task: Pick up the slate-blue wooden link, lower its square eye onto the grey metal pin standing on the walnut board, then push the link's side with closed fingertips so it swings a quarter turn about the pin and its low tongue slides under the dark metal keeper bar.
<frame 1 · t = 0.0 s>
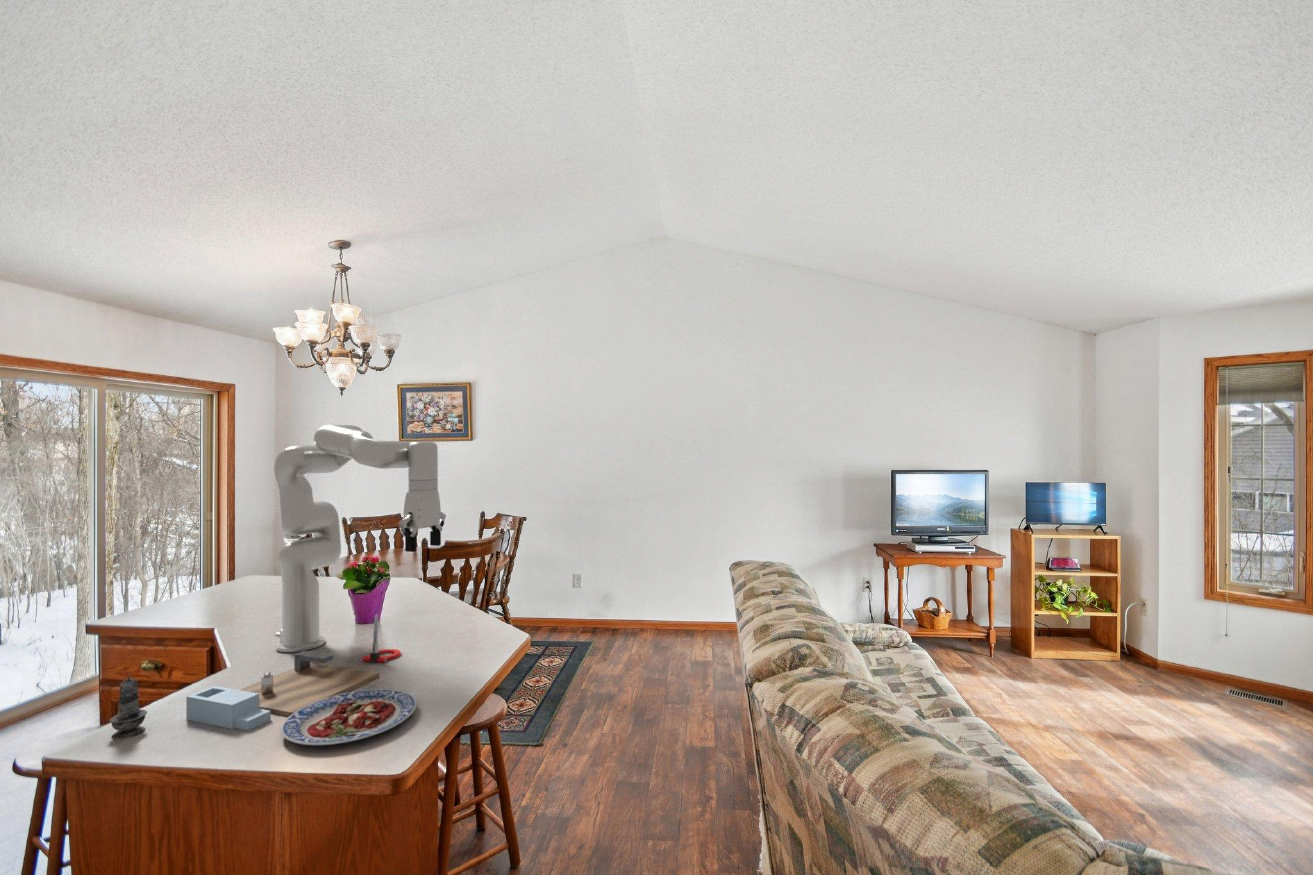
hand: (423, 548, 163), 31 cm above the table, fingers open, 9 cm apart
tow hook: (383, 658, 167), on the table
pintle: (267, 697, 140), resting on board
grey stone sculpture: (128, 734, 123), on the table
board: (302, 689, 145), on the table
link: (254, 724, 126), on the table
keeper: (302, 672, 155), resting on board
ceramic plate: (351, 724, 127), on the table
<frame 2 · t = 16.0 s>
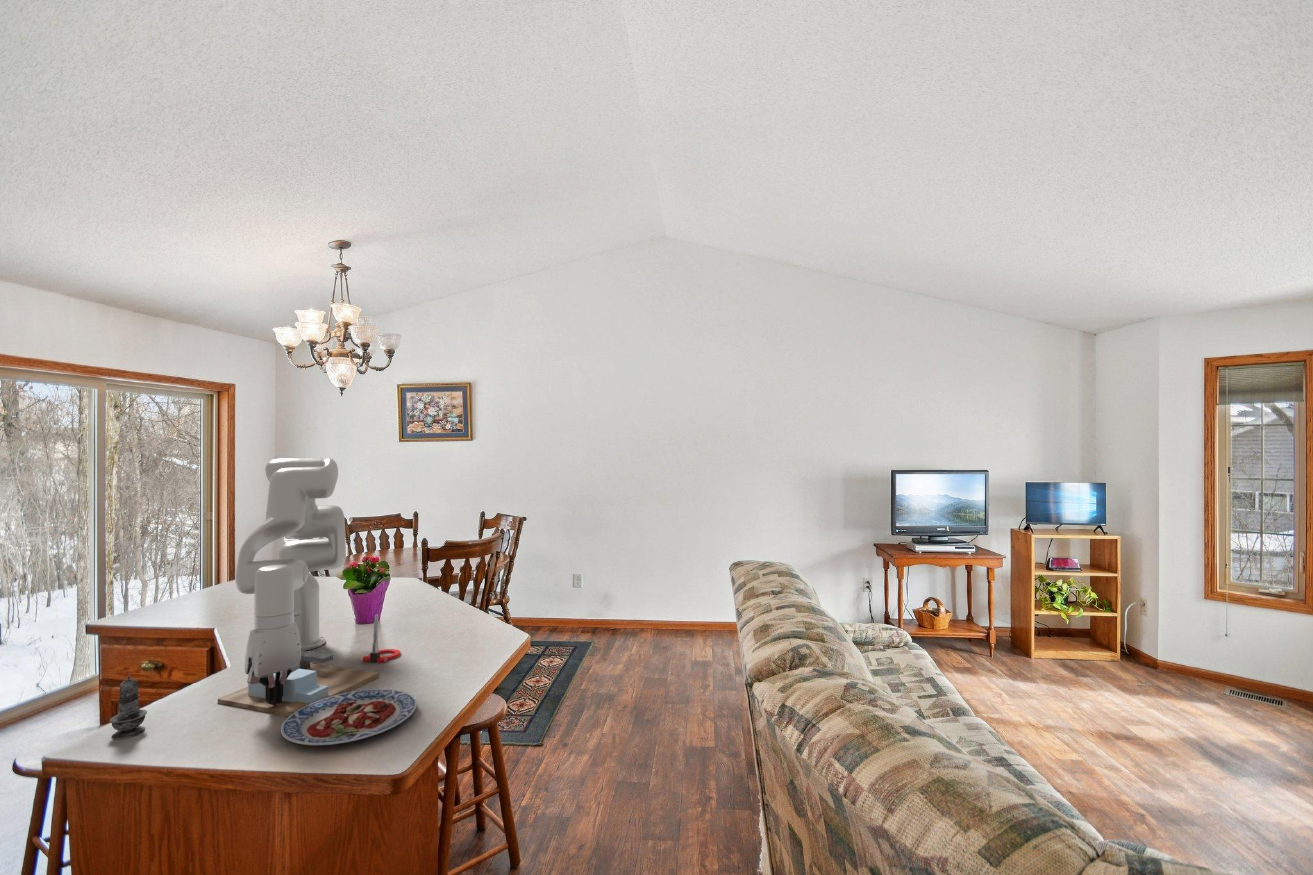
hand: (274, 702, 133), 2 cm above the table, fingers closed
link: (314, 698, 137), point 1 cm above the table, touching board
everything else where it was.
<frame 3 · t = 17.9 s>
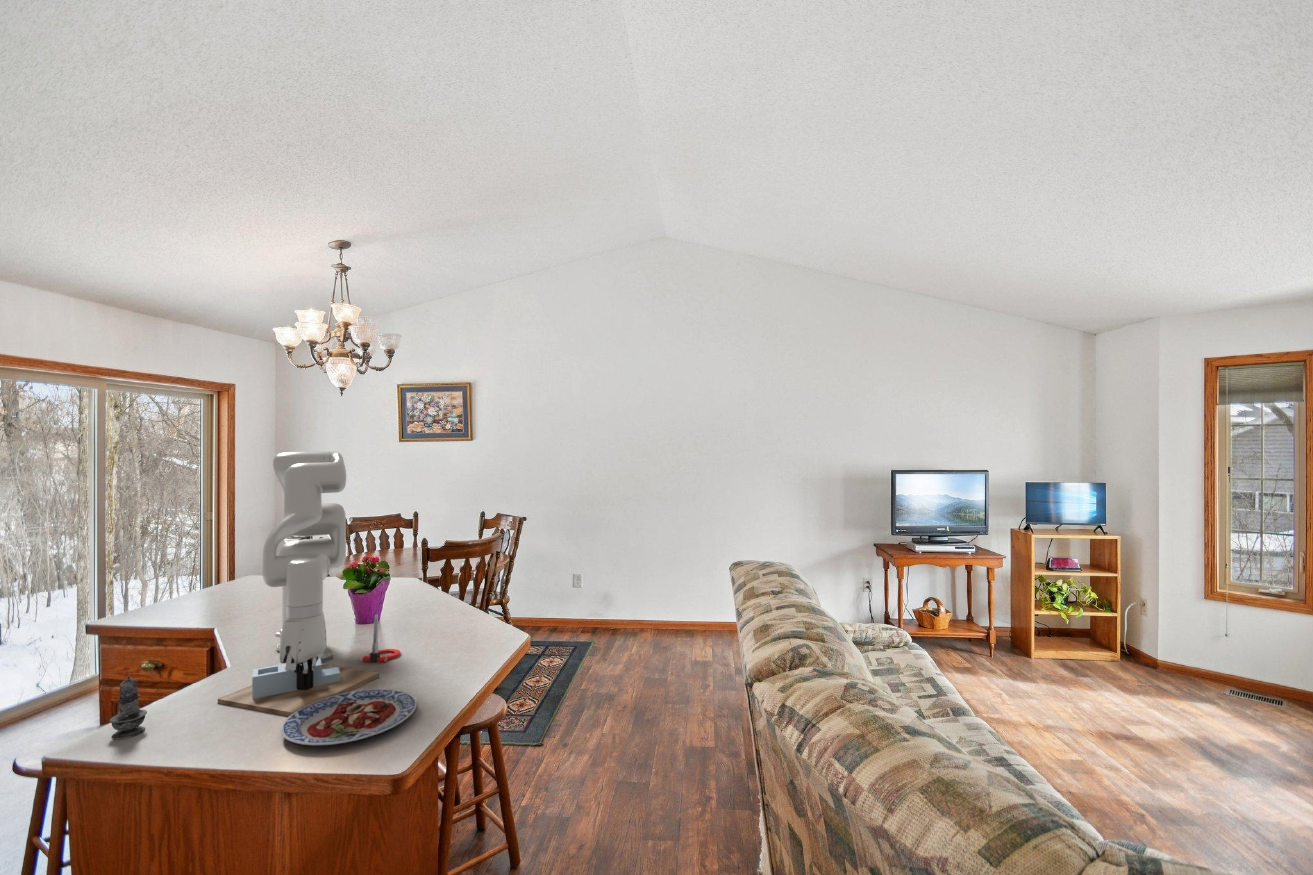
hand: (305, 688, 140), 2 cm above the table, fingers closed
link: (332, 679, 148), point 1 cm above the table, touching board, gripper, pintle
everything else where it was.
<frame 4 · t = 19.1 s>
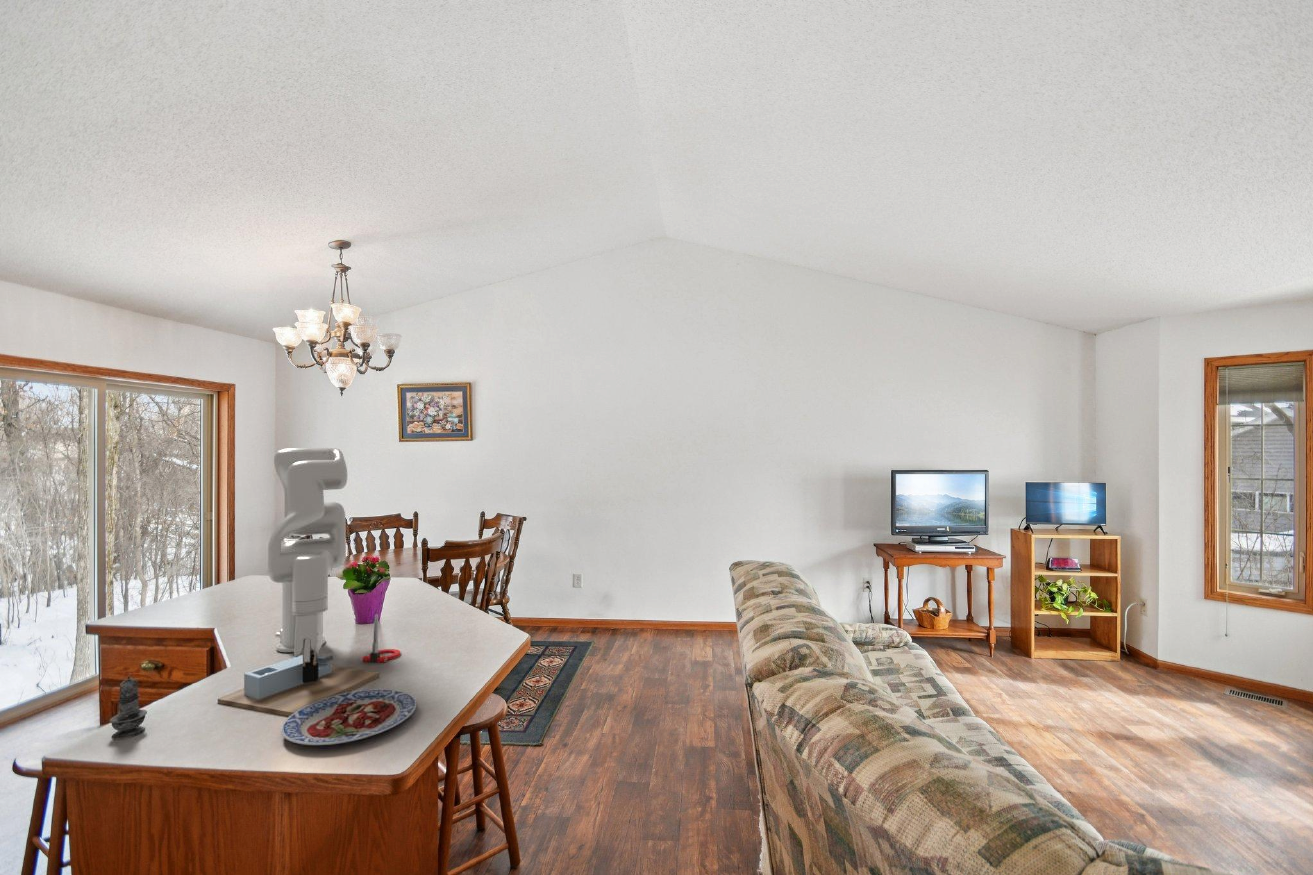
hand: (310, 680, 145), 2 cm above the table, fingers closed
link: (319, 672, 153), point 1 cm above the table, touching gripper, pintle
everything else where it was.
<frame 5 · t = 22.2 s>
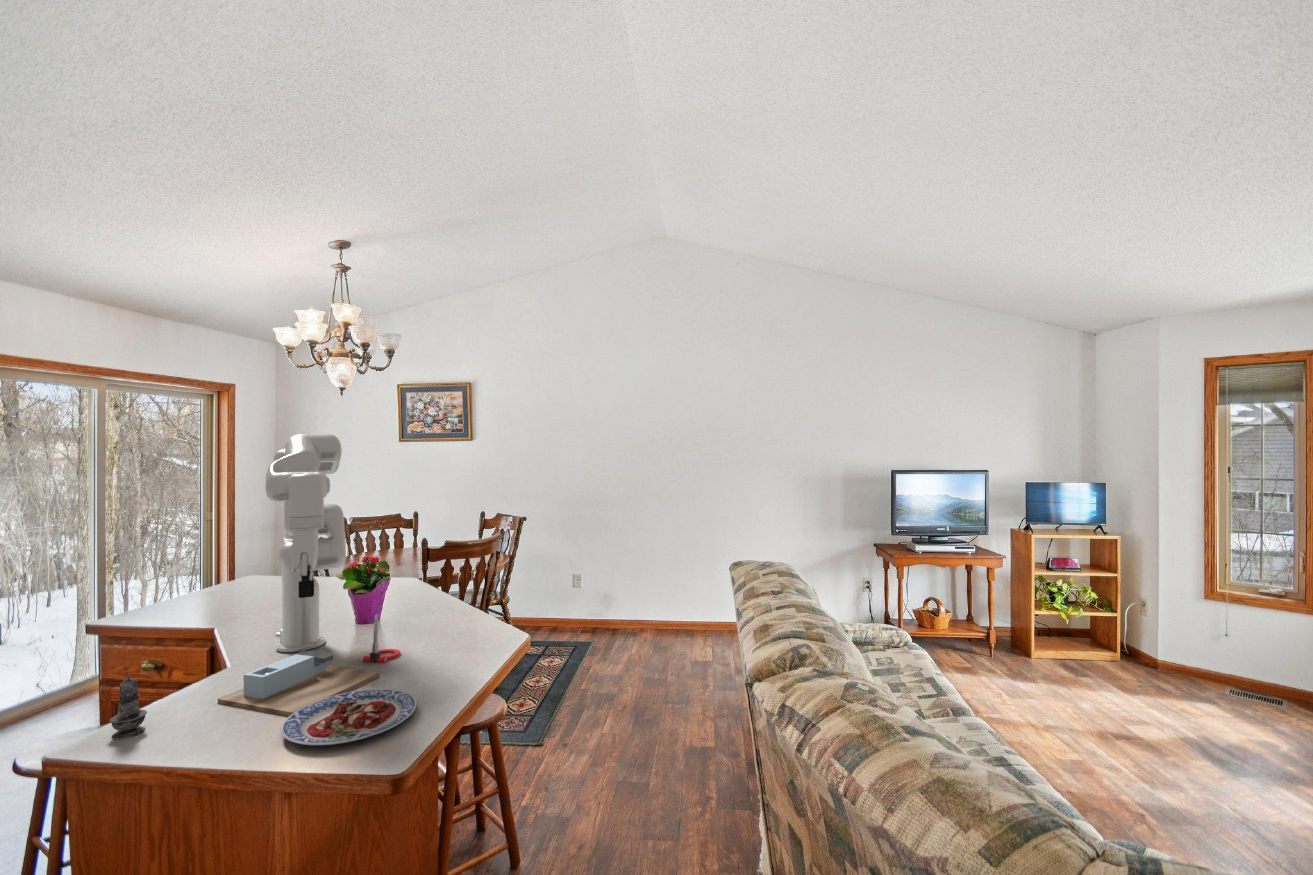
hand: (306, 596, 147), 22 cm above the table, fingers closed
link: (312, 671, 154), point 1 cm above the table, touching board
everything else where it was.
at the end: link 1.4 cm from the target spot, point 1.0 cm above the table; link tilted 0° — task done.
